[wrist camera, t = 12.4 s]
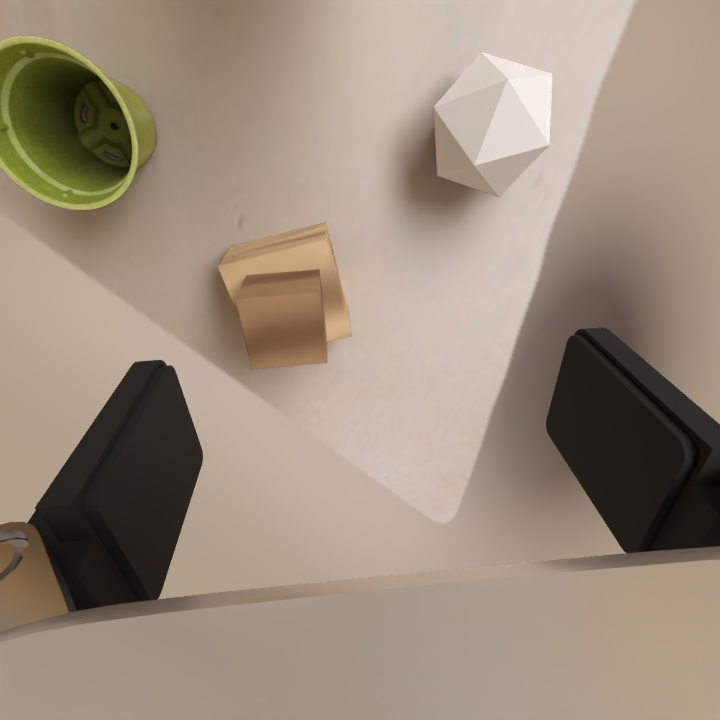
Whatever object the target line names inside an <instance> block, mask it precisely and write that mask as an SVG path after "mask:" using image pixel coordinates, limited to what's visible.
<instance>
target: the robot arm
mask: <svg viewBox="0 0 720 720" xmlns="http://www.w3.org/2000/svg"><path fill="white" fill-rule="evenodd" d="M546 428H547V432H548V434H549V436H550V438H551V439H552V441H553V442H554V444H555V446H556V447H557V449H558V450H559V452H560V453H561V455H562V456H563V458H564V459H565V461H566V462H567V464H568V466H569V467H570V469H571V470H572V472H573V473H574V475H575V476H576V478H577V480H578V481H579V483H580V484H581V486H582V487H583V489H584V490H585V492H586V494H587V495H588V497H589V498H590V499H591V501H592V503H593V504H594V505H595V507H596V509H597V511H598V512H599V514H600V515H601V517H602V518H603V520H604V521H605V523H606V524H607V526H608V527H609V529H610V531H611V532H612V534H613V535H614V537H615V538H616V540H617V541H618V543H619V545H620V546H621V548H622V549H623V550H624V551H625V552H626V554H615V555H604V556H593V557H582V558H571V559H559V560H548V561H538V562H527V563H515V564H506V565H505V564H504V565H494V566H483V567H473V568H462V569H453V570H441V571H430V572H420V573H410V574H399V575H389V576H379V577H368V578H358V579H348V580H338V581H328V582H319V583H308V584H298V585H288V586H278V587H269V588H258V589H250V590H238V591H229V592H219V593H209V594H201V595H192V596H184V597H175V598H167V599H159V600H157V599H158V598H159V596H160V594H161V591H162V588H163V585H164V582H165V579H166V575H167V572H168V569H169V566H170V562H171V560H172V557H173V553H174V550H175V547H176V544H177V541H178V538H179V535H180V531H181V528H182V525H183V522H184V519H185V516H186V513H187V509H188V506H189V503H190V500H191V497H192V494H193V490H194V488H195V484H196V481H197V478H198V475H199V472H200V469H201V466H202V461H203V453H202V448H201V445H200V442H199V439H198V436H197V433H196V430H195V427H194V424H193V421H192V418H191V416H190V413H189V410H188V407H187V404H186V401H185V398H184V395H183V392H182V389H181V386H180V383H179V380H178V377H177V374H176V371H175V369H174V368H173V366H167V365H166V363H165V362H164V361H162V360H154V361H141V362H135V363H134V364H133V365H132V366H131V368H130V369H129V371H128V372H127V373H126V375H125V376H124V378H123V379H122V381H121V382H120V384H119V385H118V387H117V388H116V390H115V391H114V392H113V394H112V395H111V397H110V398H109V400H108V401H107V403H106V404H105V406H104V407H103V409H102V410H101V411H100V413H99V414H98V416H97V418H96V419H95V420H94V422H93V423H92V425H91V426H90V428H89V429H88V431H87V432H86V434H85V435H84V436H83V438H82V439H81V441H80V443H79V444H78V445H77V447H76V448H75V450H74V451H73V453H72V454H71V456H70V457H69V459H68V460H67V462H66V463H65V465H64V466H63V467H62V469H61V470H60V472H59V473H58V475H57V476H56V478H55V479H54V481H53V482H52V483H51V485H50V486H49V488H48V489H47V491H46V492H45V494H44V495H43V497H42V498H41V500H40V501H39V503H38V504H37V506H36V507H35V509H36V511H35V513H34V514H33V515H32V517H31V519H30V520H29V522H28V523H25V522H9V523H5V524H1V525H0V720H720V424H718V423H717V422H716V421H715V420H714V419H713V418H711V417H710V416H709V415H708V414H707V413H706V412H704V411H703V410H702V409H701V408H700V407H699V406H697V405H696V404H695V403H694V402H693V401H692V400H690V399H689V398H688V397H687V396H686V395H685V394H683V393H682V392H681V391H680V390H679V389H677V388H676V387H675V386H674V385H673V384H672V383H671V382H669V381H668V380H667V379H666V378H665V377H663V376H662V375H661V374H660V373H659V372H658V371H656V370H655V369H654V368H653V367H652V366H651V365H649V364H648V363H647V362H646V361H645V360H643V359H642V358H641V357H640V356H639V355H638V354H636V353H635V352H634V351H633V350H632V349H631V348H629V347H628V346H627V345H626V344H625V343H623V341H621V340H620V339H619V338H618V337H617V336H615V335H614V334H613V333H612V332H611V331H609V330H608V329H607V328H590V329H580V330H578V331H577V332H576V333H575V334H574V336H571V337H570V338H569V339H568V341H567V344H566V348H565V352H564V356H563V360H562V363H561V367H560V371H559V375H558V378H557V383H556V386H555V390H554V394H553V397H552V401H551V405H550V409H549V413H548V416H547V420H546Z"/></svg>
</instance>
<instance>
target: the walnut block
mask: <svg viewBox="0 0 720 720" xmlns="http://www.w3.org/2000/svg"><path fill="white" fill-rule="evenodd" d="M236 303H237V307H238V311H239V316H240V320H241V325H242V329H243V334H244V338H245V343H246V347H247V351H248V356H249V360H250V365H251V369H260V368H272V367H283V366H295V365H306V364H318V363H327V333H326V324H325V315H324V306H323V296H322V287H321V278H320V269H317V270H305V271H292V272H279V273H267V274H254V275H246V277H245V279H244V282H243V284H242V286H241V288H240V291H239V293H238V295H237V297H236Z"/></svg>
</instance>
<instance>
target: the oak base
mask: <svg viewBox="0 0 720 720" xmlns="http://www.w3.org/2000/svg"><path fill="white" fill-rule="evenodd" d="M218 269H219V271H220V273H221V276H222V278H223V281H224V283H225V285H226V288H227V290H228V292H229V295H230V297H231V300H232V302H233V304H234V307H235V309H236V311H237V314H238V316H239V311H238V307H237V303H236V297H237V295H238V293H239V291H240V288H241V286H242V284H243V282H244V279H245V277H246V275H254V274H267V273H279V272H292V271H305V270H317V269H320V278H321V287H322V296H323V306H324V315H325V324H326V333H327V342H330V341H334V340H338V339H343V338H347V337H351V336H352V335H351V327H350V319H349V310H348V306H347V303H346V299H345V295H344V291H343V287H342V284H341V280H340V276H339V272H338V268H337V265H336V261H335V257H334V253H333V250H332V246H331V242H330V238H329V234H328V231H327V227H326V223H321V224H317V225H313V226H309V227H305V228H301V229H297V230H293V231H289V232H285V233H281V234H277V235H273V236H269V237H265V238H261V239H257V240H253V241H249V242H245V243H241V244H237V245H233V246H231V247H230V248H229V250H228V251H227V253H226V255H225V256H224V258H223V259H222V261H221V262H220V264H219V265H218ZM239 319H240V316H239ZM240 321H241V320H240Z"/></svg>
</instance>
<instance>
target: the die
mask: <svg viewBox="0 0 720 720" xmlns="http://www.w3.org/2000/svg"><path fill="white" fill-rule="evenodd" d="M551 95H552V74H551V73H548V72H544V71H541V70H538V69H535V68H531V67H528V66H525V65H522V64H518V63H515V62H512V61H509V60H505V59H502V58H499V57H496V56H492V55H489V54H486V53H483V52H481V53H480V54H479V55H478V56H477V57H476V59H475V60H474V61H473V62H472V63H471V64H470V66H469V67H468V68H467V69H466V70H465V71H464V73H463V74H462V75H461V76H460V77H459V78H458V79H457V81H456V82H455V83H454V84H453V85H452V86H451V88H450V89H449V90H448V91H447V92H446V93H445V95H444V96H443V97H442V98H441V99H440V100H439V102H438V103H437V104H436V105H435V106H434V124H435V143H436V161H437V176H440V177H442V178H445V179H448V180H451V181H454V182H457V183H460V184H463V185H465V186H468V187H471V188H474V189H477V190H480V191H483V192H486V193H489V194H491V195H494V196H497V197H500V196H501V195H502V194H503V193H504V192H505V191H506V190H507V189H508V188H509V187H510V186H511V184H512V183H513V182H514V181H515V180H516V179H517V178H518V177H519V176H520V175H521V174H522V173H523V172H524V171H525V170H526V169H527V168H528V167H529V166H530V165H531V164H532V163H533V162H534V161H535V160H536V159H537V157H538V156H539V155H540V154H541V153H542V152H543V151H544V150H545V149H546V148H547V147H548V146H549V140H550V118H551Z"/></svg>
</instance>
